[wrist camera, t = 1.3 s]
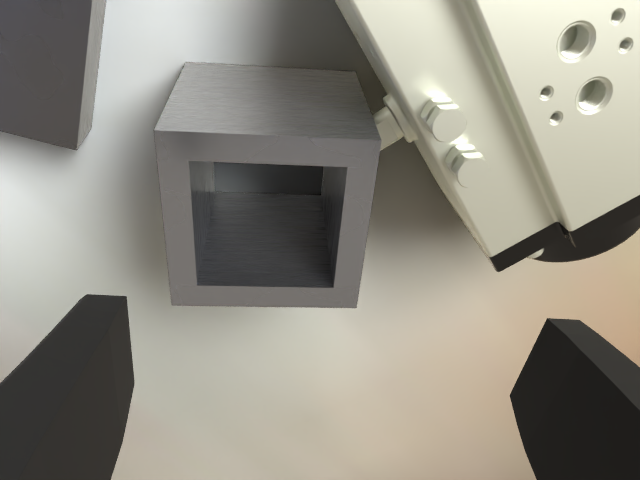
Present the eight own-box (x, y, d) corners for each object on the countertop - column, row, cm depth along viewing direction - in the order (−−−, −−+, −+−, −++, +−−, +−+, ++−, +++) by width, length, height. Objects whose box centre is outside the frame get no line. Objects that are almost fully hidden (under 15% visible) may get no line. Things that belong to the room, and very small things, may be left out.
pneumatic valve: (762, 53, 17) (433, 240, 20) (698, -419, 12) (241, -74, 14) (952, 107, 13) (492, 344, 15) (1005, -638, 7) (240, -64, 9)
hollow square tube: (195, 208, 19) (172, 305, 15) (186, 61, 16) (153, 130, 12) (339, 213, 19) (356, 307, 15) (355, 71, 16) (381, 139, 12)
